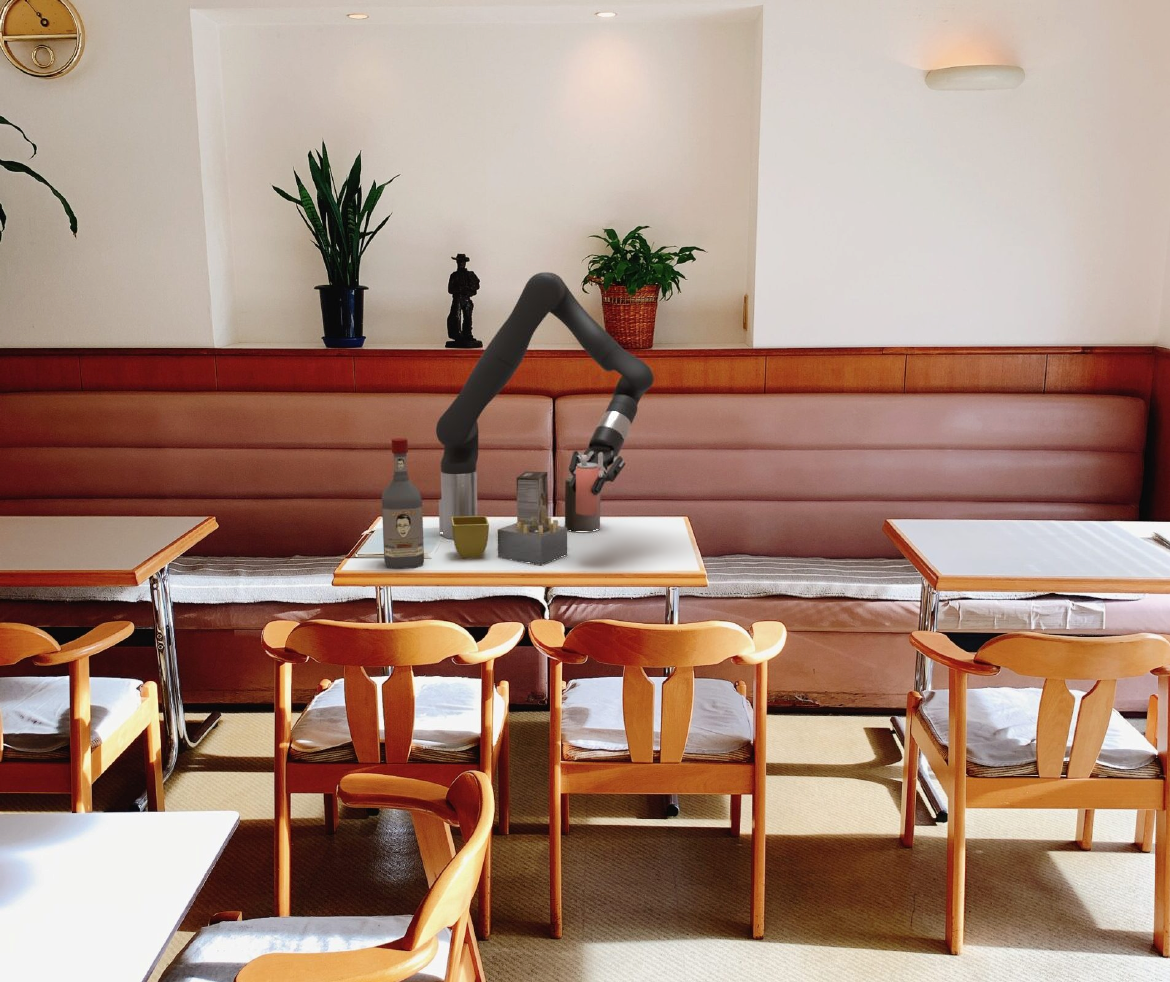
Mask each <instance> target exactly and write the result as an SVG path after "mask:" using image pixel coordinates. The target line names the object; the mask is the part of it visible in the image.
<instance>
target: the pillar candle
mask: <svg viewBox="0 0 1170 982" xmlns="http://www.w3.org/2000/svg"><path fill="white" fill-rule="evenodd" d="M572 478H573V475H571V476H568V477H566V478H565V480H564V481H565V483H564V484H565V485H564V486H565V487H564V527H567V531H568V530H571V531H593V530H596V529H599V528H600V529H601V495H602V494H601V491H602V490H601V491H600V493H599V513H598V514H595V515H579V514H577V513H576V492H572V490H571V489H570V486H569V484H570V482H571V480H572ZM600 529H599V530H600Z"/></svg>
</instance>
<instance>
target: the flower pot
mask: <svg viewBox="0 0 1170 982" xmlns="http://www.w3.org/2000/svg"><path fill="white" fill-rule="evenodd" d="M451 522H452V531H453V538H454V539H453V541H454V547H455V550H456V552H457V555H458V556H459V558H460V559H467V558H468V559H470V558H471V559H473V558H475V559H476V558H477V559H479V558H481V557H483V555H484V553H485V551H486V548H487V546H488V540H489V539H488V538H489V529H490V522H489V519H488V517H487V516H485V515H479V516H478V515H477V516H468V517H451Z"/></svg>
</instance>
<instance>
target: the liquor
mask: <svg viewBox="0 0 1170 982" xmlns="http://www.w3.org/2000/svg"><path fill="white" fill-rule="evenodd" d="M391 453H392V454H393V476H392V481H390V483H389V484H388V486H386V488H385V489H384V490H383V492H382V495H381V508H382V509H381V510H382V511H381V517H382V538H383V559H384V565H385V566H386V568H388V569H389V568H390V569H394V570H398V569H414V568H419V567H422V566H423V565H424V563H425V547H424V519H423V518H424V515H423V499H422V496H421V493H420V490H419V489H418V488H417V487H416V486H415V484H413V482H412V481H411V480H410V478H409V474H408V459H407V458H408V456H407V455H408V454H407V453H409V446H408V439H407V438H404V437H401V438H400V437H398V438H392V439H391Z"/></svg>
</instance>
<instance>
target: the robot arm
mask: <svg viewBox="0 0 1170 982" xmlns="http://www.w3.org/2000/svg"><path fill="white" fill-rule="evenodd" d="M548 314H552V315H553V316H554V317H555V318H557V319H558V320H559V321H561V323H563V325H565V327H566V328H567V329H568V330H569V331H570V332H571V334H572V335H573V336H574V337H575V339H576V341H577V342H578V343H579V345H580V346H581V347H582V348H583V350H584V351H585V352H586V353H587V354H588V356H590V357H591V358H592V359H593V361H595V362H596V364H598V365H599V367H601V368H602V369H603V370H604V371H605V372H608V373H610V372H613V371H615V372H617V373H618V374H619V375H621V377H620V378H619V380H618V381H617V384H616V387H615V389H614V391H613V394H612V398H611V400H610V402H609V404H608V405H607V408H606V410H605V412H604V414H603V415H602V417H601V418H600V419H599V422H598V424H597V426H596V428H595V430H594V432H593V434H592V436H591V438H590V440H589V444H588V448H587V449H586V450H585V451H584V452H579V451H578V450H574V451H573V452H572V456H571V460H570V463H569V466H568V471H569V473H570V474H571V476H573V478H572V480H571V482H570V484H569V486H570V489H571V490H572V492H576V466H577V464H578V463H582V455H587V462H588V463H596V464H598V467H599V475H598V476H599V478H597V479H596V480H595V482H594V484H593V487H592V489H591V492H592V493H593V495H597V494H598V493H600V494H601V492H600V491H602V489H603V487H604V485H605V484H606V483H607V482H610V483H613V482H614V481H615V480H616V478H617V477H618V476H619V474H621V471H622V470H623V468H624V467H625V465H626V462H625V460H624V458H623V457H622V456H621V455H619V453H620V452H621V449H622V447H623V445H624V444H625V441H626V440H627V437H628V435H629V431H630V429H631V426H632V424H633V422H634V420H635V417H636V415H637V412H638V410H639V409H638V405H639V402H640V401H641V399H642V397H643V396H644V394H645V393H647V391H648V390H649V389H650V388H651V387H652V386H653V383H654V382H655V381H654V380H655V377H654V373H653V371H652V369H651V367H650V366H649V365H648V364H647V363H646V362H644V361H643V360H641V358H639V357H637V356H635V355H634V354H632V353H631V352H629V351H627V350H626V349H624V348H623V347H622V346H621V345H620V344H619V343H618V342H617V340H615V339H614V337H612V336H611V335H610V334H609V333H608V332H607V331H606V330H605V329H604V328H603V327H602V326H601V325H600V324H599V323H598V322H597V321H596V320H595V319H594V318H593V317H592V316H591V315H590V314H589V313H588V312H587V311H586V310H585V309H584V307H583V306H582V304H580V303H579V301H578V300H577V299H576V297H575V296H574V295H573V293H572V291H570V288H569V287H568V286H567V285H566V283H565V281H564V280H563V279H562V278H561V276H559V275H557V274H556V273H554V272H549V271H548V272H546V271H545V272H539V273H536V274H534V275H532V276H531V277H530V278H529V279H528V281H527V282H526V284H525V286H524V288H523V290H522V292H521V294H520V295H519V298H518V300H517V302H516V304H515V306H514V307H513V310H512V311H511V313H510V314H509V316H508V318H507V319H506V321H504V323H503V324H502V326H501V327H500V328H499V329H498V331H497V332H496V333H495V335H494V337H493V338H492V339H491V341H490V342H489V343H488V344H487V346H486V348H485V349H484V351H483V353H482V354H481V356H480V358H479V359H478V361H477V362H476V365H475V366H474V367H473V369H472V371H471V373H470V375H469V376H468V379H467V380H466V382H465V384H464V385H463V387H462V389H461V391H460V392H459V394H458V395H457V397H456V398H455V399H454V400H453V401H452V403H451V404H450V405H449V406H448V407H447V409H446V410H445V412H443V414H441V416H440V417H439V419H438V421H437V423H436V427H435V428H436V429H435V434H436V437H437V438H436V439H437V440H438V441H439V443H440V444H442V445H443V447H444V448H443V455H442V458H441V460H440V483H441V484H440V487H441V488H440V490H441V498H439V499H438V518H439V519H438V520H439V521H438V523H439V526H438V527H439V533H440V532H443V535H442V536H443V537H444V538H446V539H451V540H452V539H453V540H454V538H453V531H452V522H451V517H468V516H478V492H477V491H478V486H477V485H478V484H477V483H478V480H477V462H478V459H479V424H478V419H479V418H480V416H481V414H482V412H483V411H484V410H485V408H486V407H487V406H488V405H489V404H490V402H491V401H492V400H493V399H494V398H496V396H497V395H498V394H499V393H500V392H501V391H502V389H504V388H505V386H506V385H507V383H508V382H509V381H510V380H511V378H513V376H514V374H515V372H516V371H517V370H518V368H519V366H520V365H521V363H522V361H523V359H524V357H525V356H526V352H527V350H528V348H529V346H530V342H531V340H532V338H533V336H534V333H535V332H536V330H537V329H538V328H539V326H540V325H541V323H542V322H543V320H544V319H545V318H546V317H547V315H548ZM609 467H610V468H609Z"/></svg>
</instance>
